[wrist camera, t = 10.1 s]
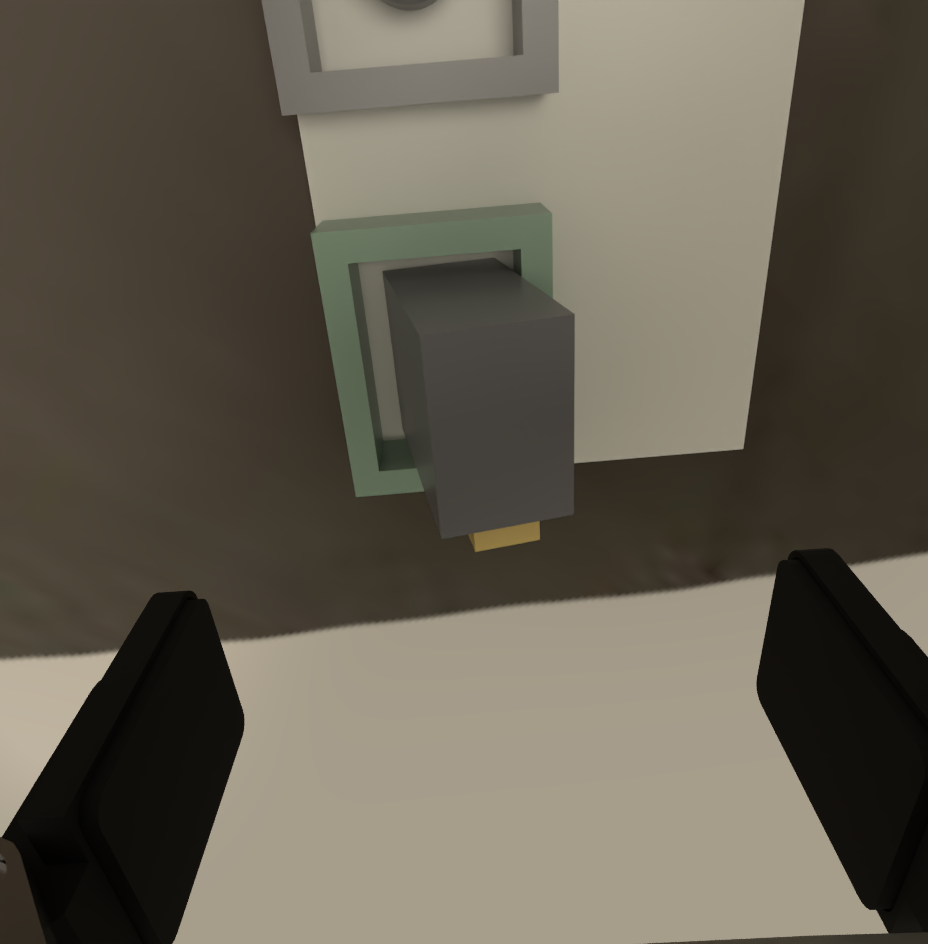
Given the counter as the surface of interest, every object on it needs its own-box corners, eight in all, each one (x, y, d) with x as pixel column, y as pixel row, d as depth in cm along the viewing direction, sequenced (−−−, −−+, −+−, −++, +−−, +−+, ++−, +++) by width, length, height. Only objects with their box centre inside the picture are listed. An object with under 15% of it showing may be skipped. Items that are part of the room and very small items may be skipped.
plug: (494, 257, 24) (574, 314, 17) (503, 430, 27) (574, 537, 20) (382, 270, 24) (419, 335, 17) (404, 446, 27) (443, 562, 20)
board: (822, -280, 19) (904, -361, 16) (732, 436, 29) (769, 478, 26) (246, -233, 19) (207, -304, 16) (361, 467, 29) (352, 513, 26)
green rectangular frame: (540, 202, 23) (552, 213, 21) (544, 449, 28) (554, 480, 26) (322, 220, 23) (310, 233, 21) (362, 464, 28) (356, 497, 26)
